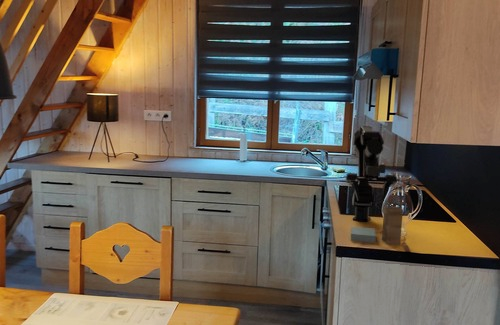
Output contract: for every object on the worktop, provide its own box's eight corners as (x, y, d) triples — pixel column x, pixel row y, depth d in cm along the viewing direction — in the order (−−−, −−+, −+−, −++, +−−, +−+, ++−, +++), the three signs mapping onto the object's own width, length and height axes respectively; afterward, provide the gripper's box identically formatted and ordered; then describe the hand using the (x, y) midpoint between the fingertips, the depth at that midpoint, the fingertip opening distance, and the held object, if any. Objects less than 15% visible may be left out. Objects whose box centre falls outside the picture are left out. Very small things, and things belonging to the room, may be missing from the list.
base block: (350, 233, 178) (351, 226, 178) (374, 235, 177) (374, 228, 176) (350, 241, 170) (351, 233, 169) (375, 243, 168) (375, 236, 167)
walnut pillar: (381, 239, 171) (384, 206, 169) (394, 239, 172) (396, 206, 169) (387, 244, 166) (389, 210, 164) (400, 244, 167) (402, 210, 164)
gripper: (348, 155, 169) (347, 195, 166) (399, 157, 167) (400, 198, 163) (346, 162, 180) (345, 201, 176) (393, 164, 178) (394, 203, 174)
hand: (370, 201), depth 172 cm, fingers open, 9 cm apart
